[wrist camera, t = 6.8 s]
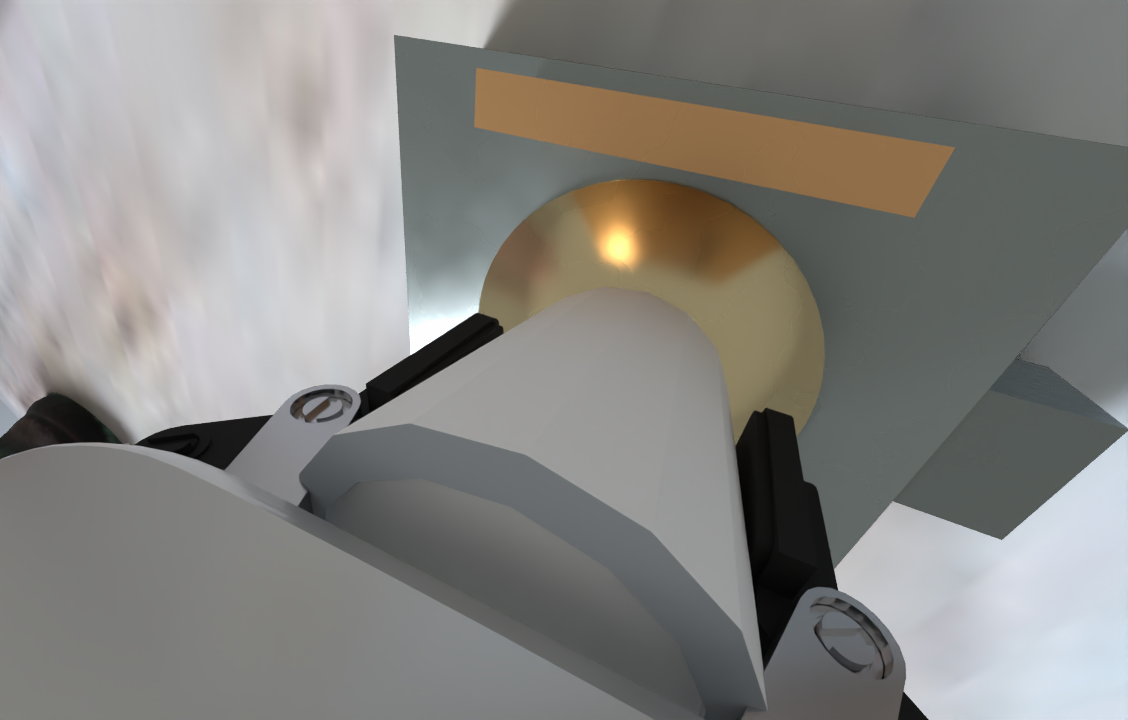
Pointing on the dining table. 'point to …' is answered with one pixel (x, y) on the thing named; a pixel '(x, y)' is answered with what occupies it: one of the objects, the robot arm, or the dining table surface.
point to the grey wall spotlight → (780, 260)
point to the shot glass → (574, 493)
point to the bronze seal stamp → (54, 427)
